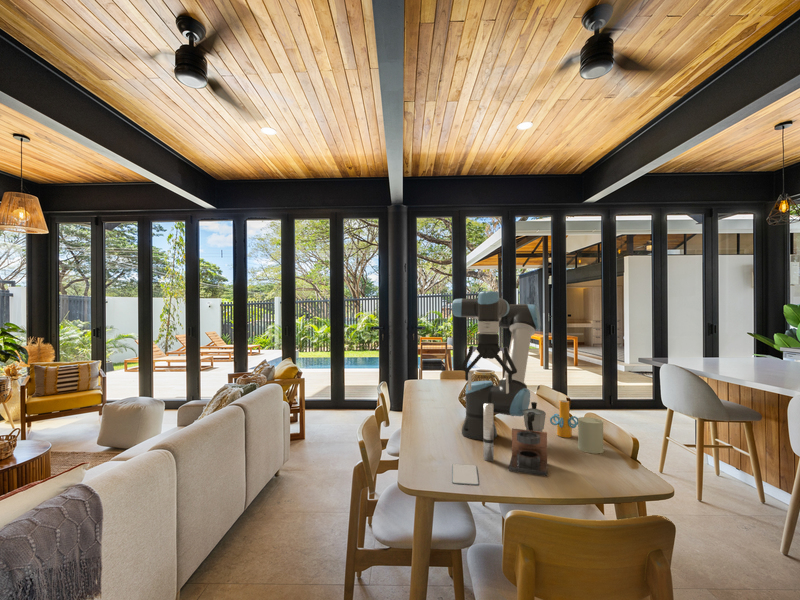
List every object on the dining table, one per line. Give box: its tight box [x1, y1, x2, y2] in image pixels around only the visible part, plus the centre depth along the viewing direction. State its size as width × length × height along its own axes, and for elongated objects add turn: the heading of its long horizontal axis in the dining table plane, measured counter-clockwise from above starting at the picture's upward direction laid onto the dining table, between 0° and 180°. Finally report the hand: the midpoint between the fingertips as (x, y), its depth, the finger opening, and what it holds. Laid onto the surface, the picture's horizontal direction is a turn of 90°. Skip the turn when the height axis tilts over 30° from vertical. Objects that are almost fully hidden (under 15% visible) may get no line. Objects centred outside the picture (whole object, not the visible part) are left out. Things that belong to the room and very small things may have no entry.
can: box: [577, 416, 605, 455], centre depth 153 cm, size 9×9×12 cm
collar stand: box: [508, 428, 548, 477], centre depth 135 cm, size 12×12×11 cm
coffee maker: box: [523, 401, 547, 432], centre depth 153 cm, size 15×9×18 cm, turn 149°
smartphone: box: [451, 463, 480, 487], centre depth 128 cm, size 8×1×15 cm
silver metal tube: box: [482, 403, 495, 462], centre depth 142 cm, size 4×4×20 cm
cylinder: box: [549, 399, 579, 439], centre depth 170 cm, size 12×10×15 cm
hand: (488, 391), depth 142 cm, fingers open, 13 cm apart
